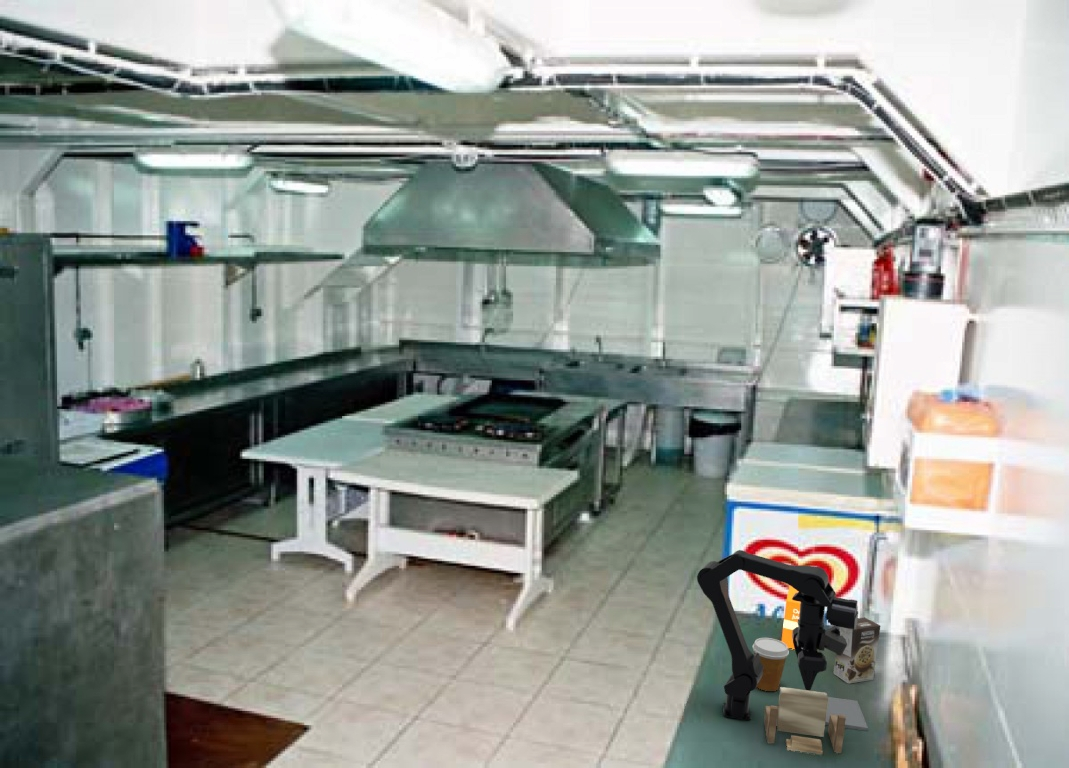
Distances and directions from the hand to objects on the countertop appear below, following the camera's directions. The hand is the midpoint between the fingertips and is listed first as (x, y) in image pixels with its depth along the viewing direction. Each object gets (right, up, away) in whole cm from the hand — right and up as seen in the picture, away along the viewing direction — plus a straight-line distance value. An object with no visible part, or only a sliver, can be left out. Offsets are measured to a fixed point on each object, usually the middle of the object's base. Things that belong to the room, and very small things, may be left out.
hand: (805, 681), depth 225 cm
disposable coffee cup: (-4, -9, +24) cm, 26 cm away
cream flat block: (-1, -13, +3) cm, 13 cm away
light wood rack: (-1, -13, -1) cm, 13 cm away
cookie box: (+23, -10, +34) cm, 42 cm away
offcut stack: (-2, -15, -6) cm, 16 cm away
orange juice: (+13, -6, +52) cm, 54 cm away
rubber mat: (+10, -12, +13) cm, 20 cm away
